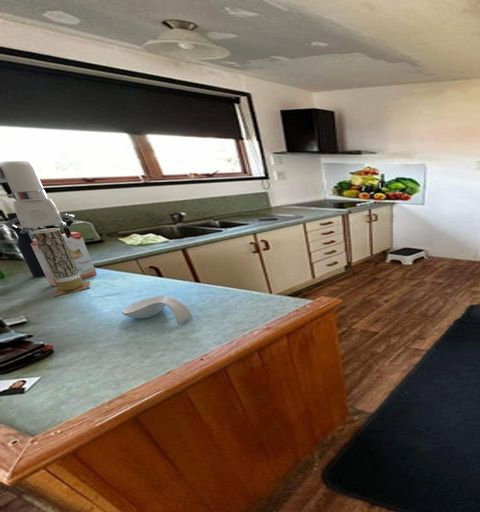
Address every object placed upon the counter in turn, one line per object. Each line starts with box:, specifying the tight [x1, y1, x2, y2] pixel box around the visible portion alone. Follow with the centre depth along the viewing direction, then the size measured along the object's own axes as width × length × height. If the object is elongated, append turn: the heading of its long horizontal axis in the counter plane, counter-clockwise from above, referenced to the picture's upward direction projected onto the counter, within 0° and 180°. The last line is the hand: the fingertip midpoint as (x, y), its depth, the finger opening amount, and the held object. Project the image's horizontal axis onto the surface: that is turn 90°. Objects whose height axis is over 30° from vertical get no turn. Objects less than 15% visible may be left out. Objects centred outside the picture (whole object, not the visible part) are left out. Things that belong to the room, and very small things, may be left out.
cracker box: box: [31, 231, 98, 287], centre depth 120 cm, size 14×6×21 cm, turn 161°
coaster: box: [53, 280, 91, 298], centre depth 114 cm, size 10×10×1 cm
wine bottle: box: [6, 212, 46, 278], centre depth 126 cm, size 6×6×30 cm
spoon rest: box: [121, 295, 193, 325], centre depth 90 cm, size 24×12×7 cm, turn 73°
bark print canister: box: [32, 227, 84, 291], centre depth 110 cm, size 7×7×25 cm
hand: (50, 240), depth 107 cm, fingers open, 9 cm apart
